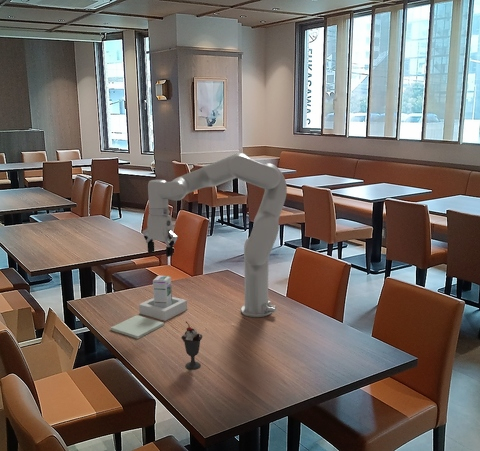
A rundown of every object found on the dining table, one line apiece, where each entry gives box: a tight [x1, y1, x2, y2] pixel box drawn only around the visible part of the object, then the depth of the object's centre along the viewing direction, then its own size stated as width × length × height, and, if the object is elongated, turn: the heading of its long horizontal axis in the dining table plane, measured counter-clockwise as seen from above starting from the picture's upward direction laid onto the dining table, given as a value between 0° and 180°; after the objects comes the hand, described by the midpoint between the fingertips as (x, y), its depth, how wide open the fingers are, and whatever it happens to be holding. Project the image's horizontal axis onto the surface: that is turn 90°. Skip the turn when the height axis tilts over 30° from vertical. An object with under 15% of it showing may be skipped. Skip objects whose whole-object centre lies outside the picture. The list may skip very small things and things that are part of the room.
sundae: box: [181, 321, 203, 370], centre depth 166 cm, size 7×7×15 cm
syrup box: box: [152, 275, 173, 309], centre depth 210 cm, size 6×6×14 cm
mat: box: [110, 314, 165, 340], centre depth 196 cm, size 14×14×1 cm
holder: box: [138, 296, 188, 322], centre depth 211 cm, size 14×14×4 cm
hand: (160, 254), depth 206 cm, fingers open, 9 cm apart
